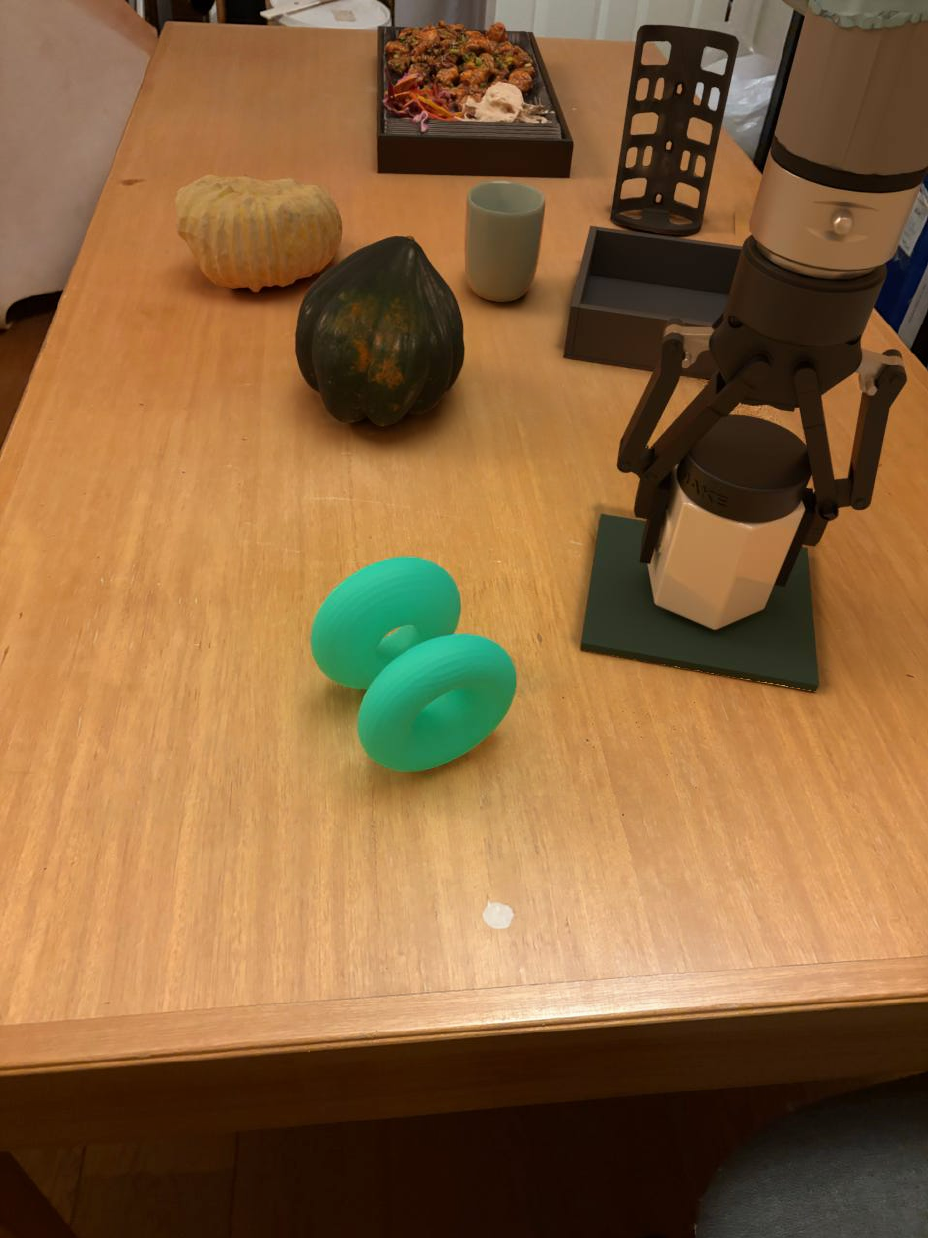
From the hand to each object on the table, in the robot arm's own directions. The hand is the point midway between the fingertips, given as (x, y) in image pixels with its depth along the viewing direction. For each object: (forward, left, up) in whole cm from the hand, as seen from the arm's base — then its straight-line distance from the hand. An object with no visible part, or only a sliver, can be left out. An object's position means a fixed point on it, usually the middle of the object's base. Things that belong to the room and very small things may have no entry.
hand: (711, 561), depth 65 cm
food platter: (+36, -92, -4) cm, 99 cm away
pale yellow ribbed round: (+47, -39, -4) cm, 61 cm away
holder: (+7, -64, -4) cm, 65 cm away
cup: (+22, -41, -4) cm, 47 cm away
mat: (0, 0, -4) cm, 4 cm away
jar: (0, 0, -3) cm, 3 cm away
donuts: (+18, +15, -4) cm, 24 cm away
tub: (+5, -39, -4) cm, 40 cm away
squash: (+29, -19, -4) cm, 35 cm away
